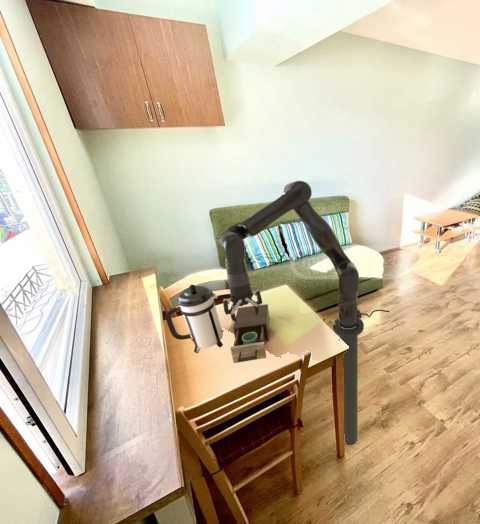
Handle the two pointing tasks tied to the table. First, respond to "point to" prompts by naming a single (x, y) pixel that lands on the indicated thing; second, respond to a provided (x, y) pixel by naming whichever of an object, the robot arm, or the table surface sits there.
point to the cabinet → (252, 318)
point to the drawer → (249, 346)
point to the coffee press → (198, 317)
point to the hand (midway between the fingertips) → (245, 317)
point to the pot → (250, 338)
